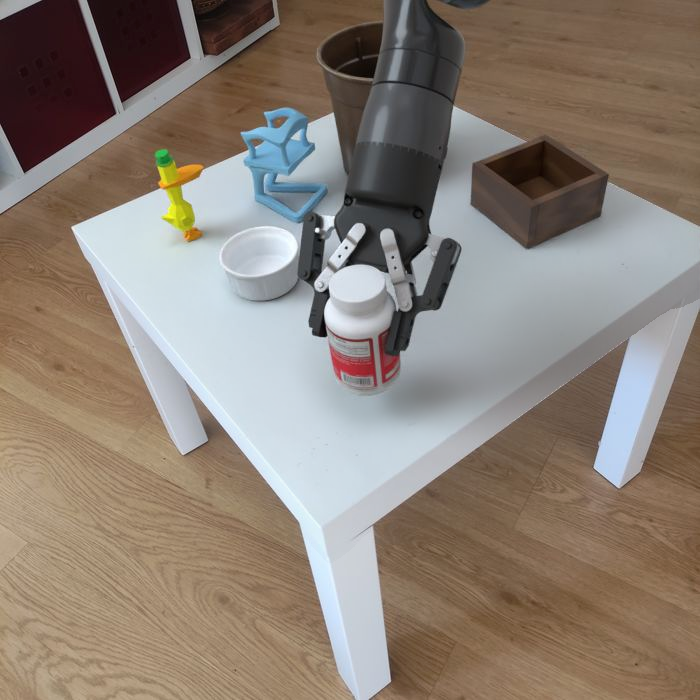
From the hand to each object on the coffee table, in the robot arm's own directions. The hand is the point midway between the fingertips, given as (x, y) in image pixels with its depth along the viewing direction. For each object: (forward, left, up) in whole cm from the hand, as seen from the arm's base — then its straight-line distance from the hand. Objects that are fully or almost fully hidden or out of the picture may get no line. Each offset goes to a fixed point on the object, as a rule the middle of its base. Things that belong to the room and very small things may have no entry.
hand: (355, 345), depth 62 cm
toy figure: (+4, -36, -9) cm, 37 cm away
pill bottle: (-1, -1, -6) cm, 6 cm away
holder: (-33, -16, -9) cm, 38 cm away
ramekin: (0, -23, -9) cm, 25 cm away
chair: (-9, -36, -9) cm, 38 cm away
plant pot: (-24, -35, -9) cm, 44 cm away
